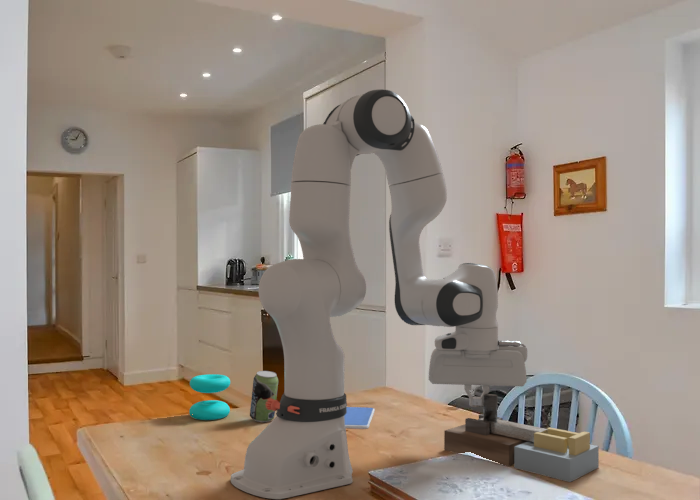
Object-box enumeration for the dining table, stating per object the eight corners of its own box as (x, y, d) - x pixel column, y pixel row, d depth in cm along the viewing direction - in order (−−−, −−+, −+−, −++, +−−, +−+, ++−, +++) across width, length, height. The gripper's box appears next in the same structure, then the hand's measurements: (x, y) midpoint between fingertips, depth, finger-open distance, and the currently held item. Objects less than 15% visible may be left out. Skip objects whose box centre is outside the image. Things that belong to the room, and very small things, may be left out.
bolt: (540, 443, 119) (540, 405, 119) (478, 429, 129) (478, 394, 129) (548, 440, 121) (548, 403, 122) (485, 427, 131) (486, 392, 131)
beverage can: (261, 416, 157) (262, 368, 158) (283, 420, 153) (284, 371, 153) (243, 421, 152) (244, 371, 153) (265, 425, 148) (266, 375, 148)
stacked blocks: (570, 482, 110) (570, 442, 110) (514, 467, 118) (514, 430, 118) (598, 467, 119) (598, 430, 119) (544, 454, 127) (544, 420, 127)
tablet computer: (368, 431, 146) (368, 425, 146) (315, 429, 147) (315, 423, 148) (375, 412, 165) (375, 407, 165) (328, 410, 167) (328, 405, 167)
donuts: (234, 378, 154) (192, 381, 151) (233, 419, 154) (192, 422, 150) (226, 372, 164) (187, 374, 160) (225, 410, 163) (186, 413, 160)
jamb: (508, 466, 119) (508, 432, 119) (444, 449, 129) (444, 418, 130) (539, 453, 127) (539, 421, 128) (476, 439, 138) (476, 409, 138)
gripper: (524, 339, 134) (525, 404, 133) (428, 337, 136) (428, 401, 136) (529, 343, 127) (529, 411, 127) (428, 341, 130) (428, 407, 129)
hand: (476, 406), depth 131 cm, fingers closed
